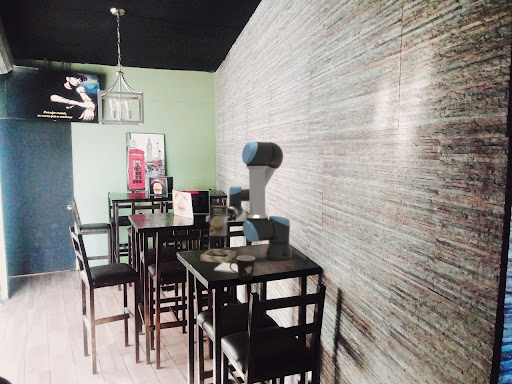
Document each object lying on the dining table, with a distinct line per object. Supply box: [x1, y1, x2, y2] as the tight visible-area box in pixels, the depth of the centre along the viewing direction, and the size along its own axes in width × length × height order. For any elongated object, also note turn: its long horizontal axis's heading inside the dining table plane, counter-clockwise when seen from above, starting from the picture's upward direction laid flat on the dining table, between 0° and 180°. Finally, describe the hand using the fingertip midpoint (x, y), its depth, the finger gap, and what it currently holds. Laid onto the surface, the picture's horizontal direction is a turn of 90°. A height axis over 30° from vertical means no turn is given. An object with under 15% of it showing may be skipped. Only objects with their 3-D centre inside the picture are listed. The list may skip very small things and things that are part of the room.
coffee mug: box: [229, 255, 256, 282], centre depth 180 cm, size 12×9×10 cm
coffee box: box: [209, 204, 229, 237], centre depth 211 cm, size 9×6×16 cm
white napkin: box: [213, 262, 238, 274], centre depth 195 cm, size 14×12×1 cm
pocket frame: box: [200, 248, 237, 264], centre depth 213 cm, size 15×15×3 cm
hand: (215, 219), depth 207 cm, fingers closed on coffee box, 10 cm apart
